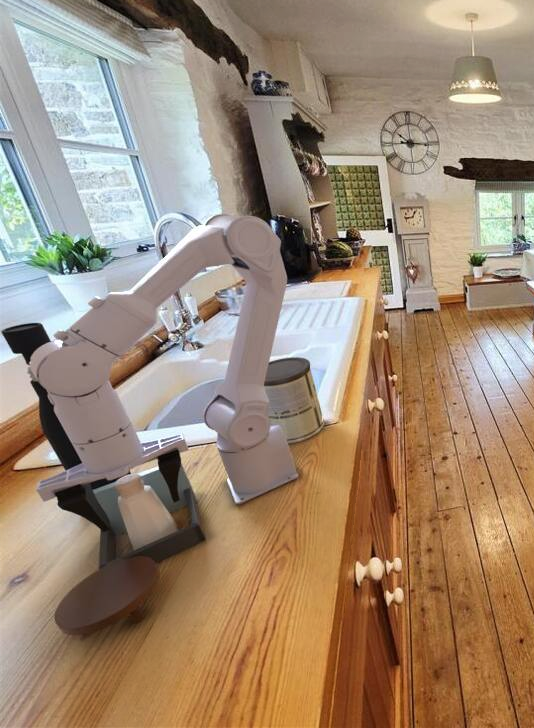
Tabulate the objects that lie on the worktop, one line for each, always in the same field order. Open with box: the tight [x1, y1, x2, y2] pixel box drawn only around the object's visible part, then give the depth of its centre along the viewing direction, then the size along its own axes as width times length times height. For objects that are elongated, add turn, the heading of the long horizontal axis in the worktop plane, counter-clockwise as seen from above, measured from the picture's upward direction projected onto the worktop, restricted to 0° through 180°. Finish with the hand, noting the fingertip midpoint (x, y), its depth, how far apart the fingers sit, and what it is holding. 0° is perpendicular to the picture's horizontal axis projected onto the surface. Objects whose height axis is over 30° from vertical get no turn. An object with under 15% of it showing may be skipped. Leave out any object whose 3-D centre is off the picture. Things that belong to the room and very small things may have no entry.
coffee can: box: [264, 356, 325, 445], centre depth 82 cm, size 10×10×14 cm
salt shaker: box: [114, 472, 179, 551], centre depth 57 cm, size 5×5×11 cm
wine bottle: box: [0, 322, 132, 490], centre depth 62 cm, size 6×6×30 cm
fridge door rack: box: [93, 462, 206, 570], centre depth 58 cm, size 11×11×8 cm
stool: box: [53, 556, 161, 636], centre depth 49 cm, size 9×9×4 cm
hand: (142, 511), depth 58 cm, fingers open, 7 cm apart
